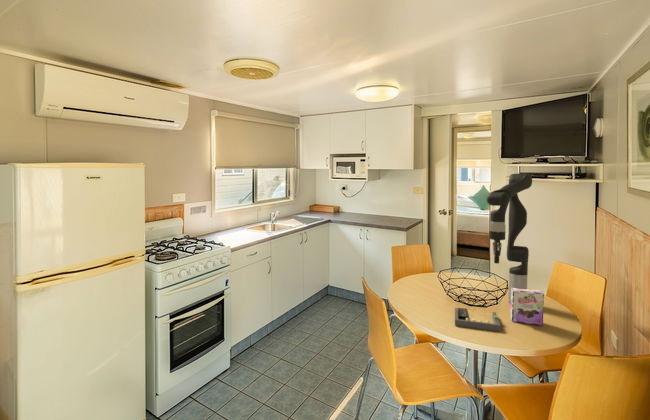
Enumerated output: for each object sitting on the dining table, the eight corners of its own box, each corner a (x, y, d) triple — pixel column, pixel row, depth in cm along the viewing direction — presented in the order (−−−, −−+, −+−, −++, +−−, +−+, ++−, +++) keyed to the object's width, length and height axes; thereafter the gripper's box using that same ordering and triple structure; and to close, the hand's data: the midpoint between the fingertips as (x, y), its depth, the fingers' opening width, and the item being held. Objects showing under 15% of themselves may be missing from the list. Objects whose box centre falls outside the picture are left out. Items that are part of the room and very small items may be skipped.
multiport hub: (458, 320, 174) (458, 315, 174) (458, 311, 187) (458, 307, 187) (467, 321, 172) (467, 316, 172) (466, 312, 186) (466, 308, 186)
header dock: (454, 313, 183) (454, 305, 183) (495, 318, 176) (496, 310, 176) (454, 325, 165) (455, 317, 165) (500, 332, 158) (501, 323, 157)
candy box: (511, 322, 171) (512, 290, 170) (510, 318, 176) (510, 287, 176) (543, 325, 166) (544, 293, 165) (540, 321, 171) (541, 290, 170)
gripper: (488, 229, 183) (487, 260, 183) (490, 231, 170) (489, 265, 171) (503, 229, 180) (502, 261, 181) (507, 231, 168) (506, 266, 168)
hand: (496, 263), depth 176 cm, fingers closed
